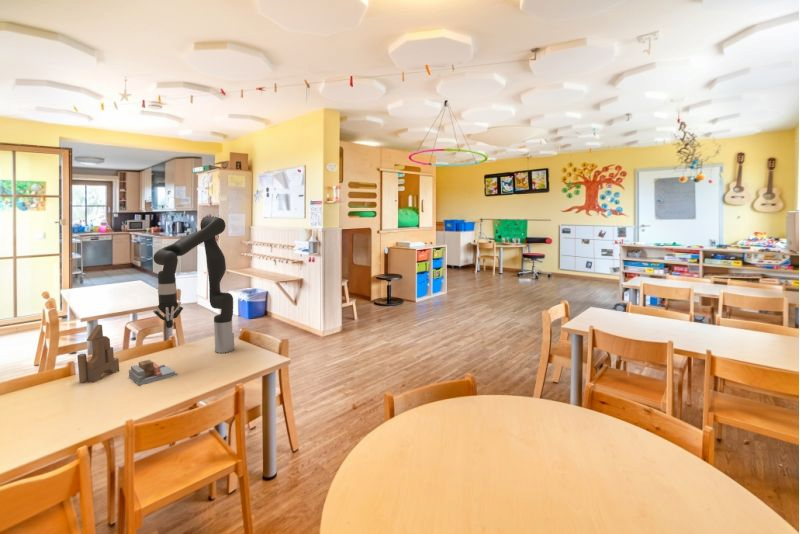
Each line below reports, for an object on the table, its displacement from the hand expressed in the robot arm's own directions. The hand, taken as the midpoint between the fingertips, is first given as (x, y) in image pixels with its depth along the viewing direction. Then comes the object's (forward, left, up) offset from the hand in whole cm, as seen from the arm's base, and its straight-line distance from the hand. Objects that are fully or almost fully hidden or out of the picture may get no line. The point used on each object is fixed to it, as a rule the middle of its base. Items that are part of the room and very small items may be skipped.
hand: (169, 327), depth 190 cm
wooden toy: (+25, -17, -22) cm, 37 cm away
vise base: (+8, 0, -22) cm, 23 cm away
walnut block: (+11, 0, -21) cm, 24 cm away
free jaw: (+8, 0, -21) cm, 22 cm away
